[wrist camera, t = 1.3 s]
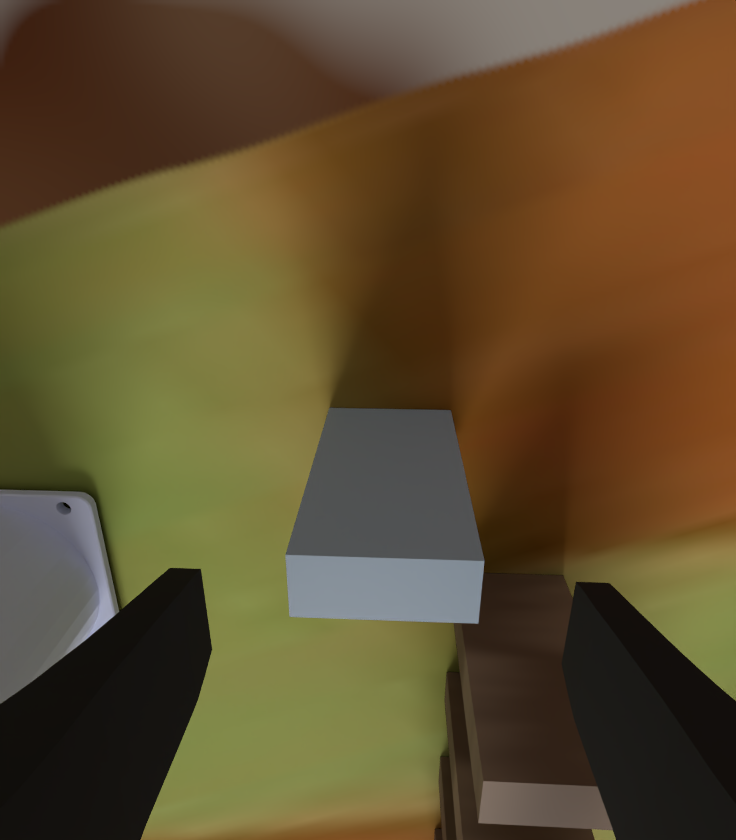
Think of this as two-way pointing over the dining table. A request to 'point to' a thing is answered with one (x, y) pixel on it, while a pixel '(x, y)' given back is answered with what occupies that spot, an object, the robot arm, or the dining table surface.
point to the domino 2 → (524, 708)
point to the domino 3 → (469, 832)
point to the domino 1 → (386, 522)
